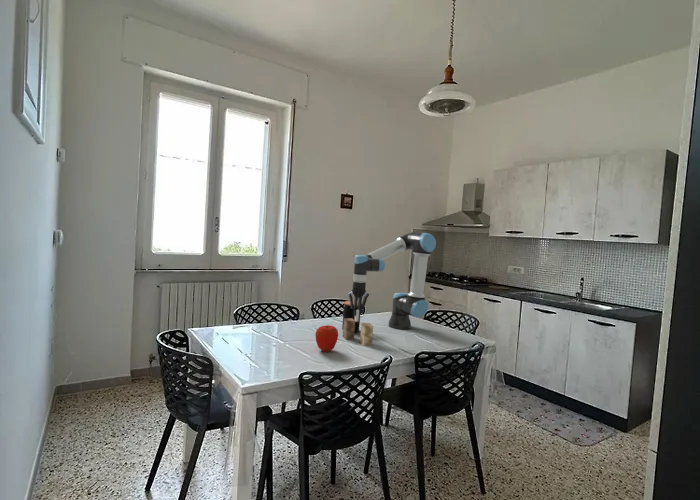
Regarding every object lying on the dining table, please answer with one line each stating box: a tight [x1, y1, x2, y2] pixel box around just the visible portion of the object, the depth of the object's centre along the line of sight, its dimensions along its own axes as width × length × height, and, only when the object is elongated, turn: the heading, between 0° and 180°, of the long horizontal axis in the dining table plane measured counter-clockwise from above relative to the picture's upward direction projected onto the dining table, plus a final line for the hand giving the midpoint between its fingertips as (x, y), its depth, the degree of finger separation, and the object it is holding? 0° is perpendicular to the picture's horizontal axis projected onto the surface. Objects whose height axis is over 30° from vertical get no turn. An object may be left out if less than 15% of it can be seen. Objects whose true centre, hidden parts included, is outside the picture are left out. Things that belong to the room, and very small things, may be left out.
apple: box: [315, 324, 339, 353], centre depth 205 cm, size 12×12×14 cm
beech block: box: [359, 322, 374, 346], centre depth 223 cm, size 5×6×11 cm
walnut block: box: [342, 318, 355, 341], centre depth 231 cm, size 5×6×11 cm
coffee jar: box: [341, 300, 361, 334], centre depth 246 cm, size 11×11×18 cm
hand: (356, 321), depth 232 cm, fingers closed
